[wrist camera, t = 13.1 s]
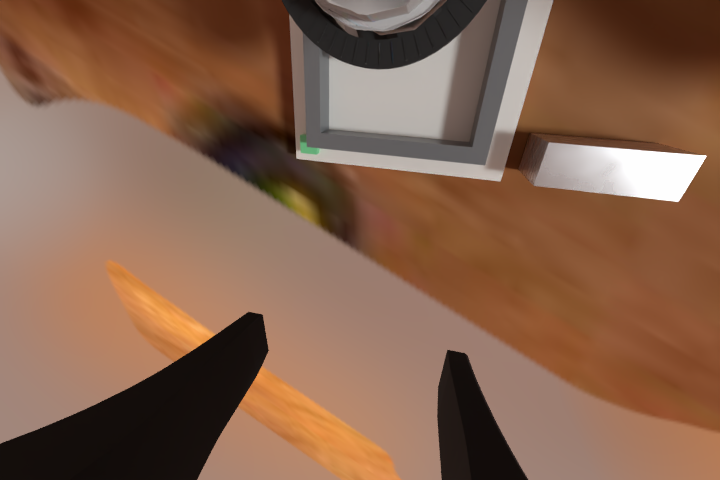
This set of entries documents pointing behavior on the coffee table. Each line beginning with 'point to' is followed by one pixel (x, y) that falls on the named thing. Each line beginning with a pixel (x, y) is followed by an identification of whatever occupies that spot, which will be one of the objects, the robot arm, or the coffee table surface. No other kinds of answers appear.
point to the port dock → (423, 98)
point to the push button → (382, 28)
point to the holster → (609, 166)
